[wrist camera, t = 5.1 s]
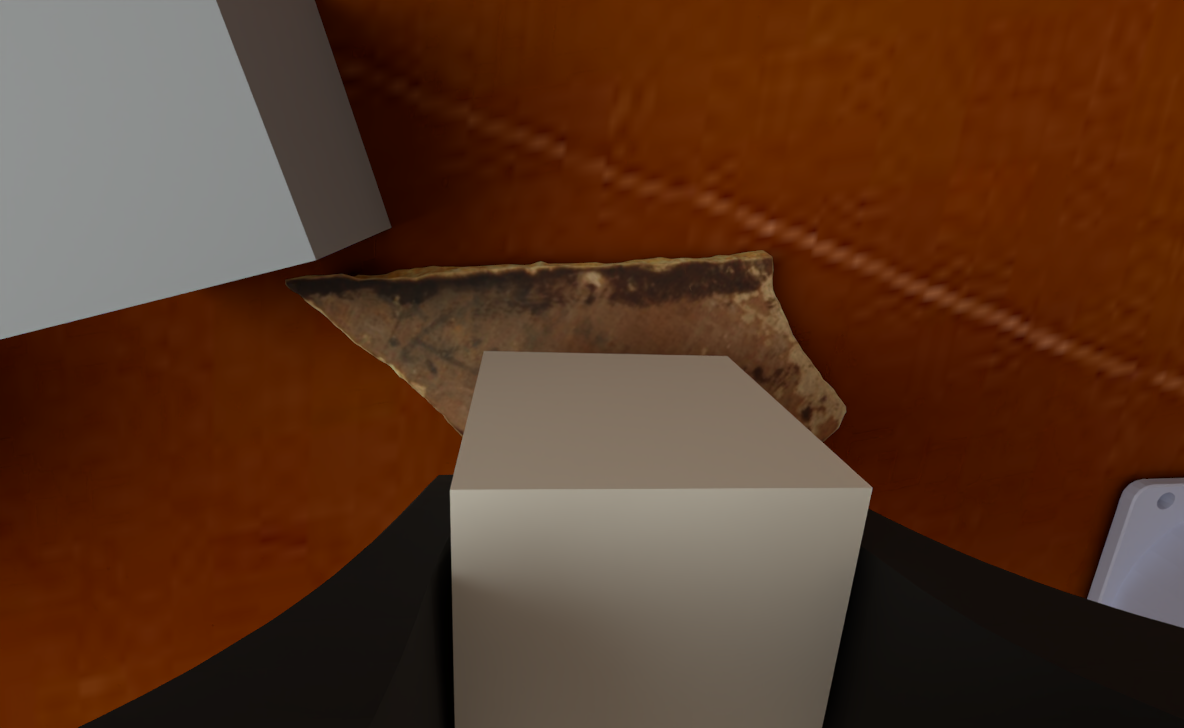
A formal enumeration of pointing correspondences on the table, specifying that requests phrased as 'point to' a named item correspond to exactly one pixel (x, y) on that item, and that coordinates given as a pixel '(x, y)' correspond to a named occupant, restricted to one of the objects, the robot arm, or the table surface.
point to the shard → (575, 322)
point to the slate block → (168, 152)
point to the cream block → (645, 548)
